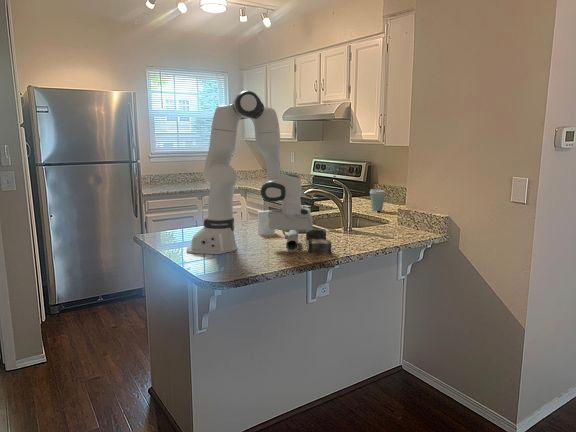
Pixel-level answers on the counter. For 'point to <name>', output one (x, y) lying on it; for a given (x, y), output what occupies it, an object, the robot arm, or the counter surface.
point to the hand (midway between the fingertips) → (290, 239)
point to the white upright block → (264, 224)
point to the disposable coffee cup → (377, 199)
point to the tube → (292, 241)
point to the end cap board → (317, 242)
